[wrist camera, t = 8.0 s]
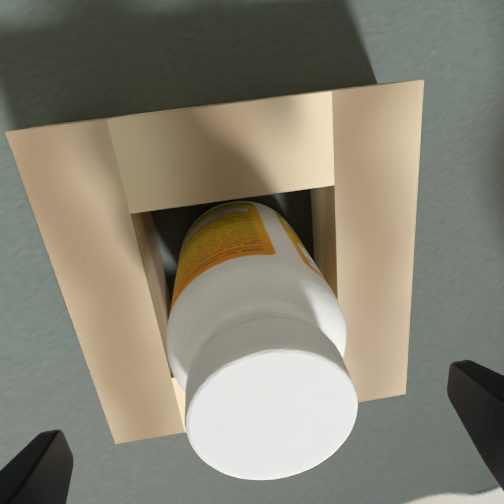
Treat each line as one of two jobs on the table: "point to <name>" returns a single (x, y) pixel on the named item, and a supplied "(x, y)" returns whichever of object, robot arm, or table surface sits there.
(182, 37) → the table surface
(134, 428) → the socket block
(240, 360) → the supplement bottle
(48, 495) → the robot arm
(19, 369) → the table surface
